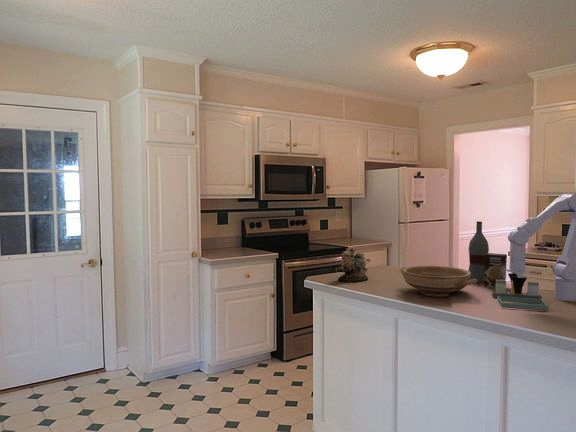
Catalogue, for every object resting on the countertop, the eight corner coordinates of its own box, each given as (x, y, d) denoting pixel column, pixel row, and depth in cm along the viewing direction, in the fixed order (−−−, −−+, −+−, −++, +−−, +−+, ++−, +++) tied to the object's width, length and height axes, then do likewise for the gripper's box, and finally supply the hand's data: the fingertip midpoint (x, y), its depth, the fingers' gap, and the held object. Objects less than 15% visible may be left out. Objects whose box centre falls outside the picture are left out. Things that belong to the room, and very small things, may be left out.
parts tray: (541, 305, 182) (541, 298, 182) (548, 312, 171) (548, 305, 171) (497, 302, 187) (497, 296, 187) (501, 309, 176) (501, 302, 176)
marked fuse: (520, 297, 191) (521, 280, 190) (521, 298, 188) (522, 281, 188) (511, 297, 192) (511, 280, 191) (512, 298, 189) (512, 281, 189)
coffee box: (483, 289, 212) (484, 254, 211) (484, 286, 218) (485, 252, 217) (505, 291, 208) (506, 255, 207) (506, 288, 213) (507, 253, 212)
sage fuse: (504, 296, 192) (505, 280, 192) (505, 297, 190) (506, 281, 190) (495, 296, 193) (495, 279, 193) (496, 297, 191) (496, 280, 191)
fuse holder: (539, 300, 191) (539, 293, 190) (543, 303, 184) (543, 296, 184) (491, 297, 196) (491, 290, 196) (493, 300, 190) (493, 293, 189)
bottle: (481, 284, 221) (482, 222, 220) (464, 281, 229) (465, 221, 227) (491, 282, 227) (493, 221, 225) (474, 279, 234) (476, 220, 233)
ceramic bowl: (493, 296, 197) (493, 273, 197) (455, 306, 180) (455, 281, 179) (420, 282, 227) (421, 262, 226) (382, 290, 209) (382, 268, 209)
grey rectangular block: (536, 298, 189) (537, 281, 188) (538, 299, 187) (538, 282, 186) (527, 298, 190) (527, 281, 190) (528, 299, 188) (528, 282, 187)
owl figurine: (347, 284, 223) (347, 249, 222) (331, 280, 233) (331, 247, 232) (373, 279, 234) (373, 246, 233) (357, 276, 243) (357, 244, 242)
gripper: (504, 256, 197) (503, 287, 198) (509, 261, 183) (508, 295, 184) (522, 257, 195) (521, 289, 196) (529, 262, 181) (528, 296, 182)
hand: (516, 292), depth 190 cm, fingers open, 5 cm apart
